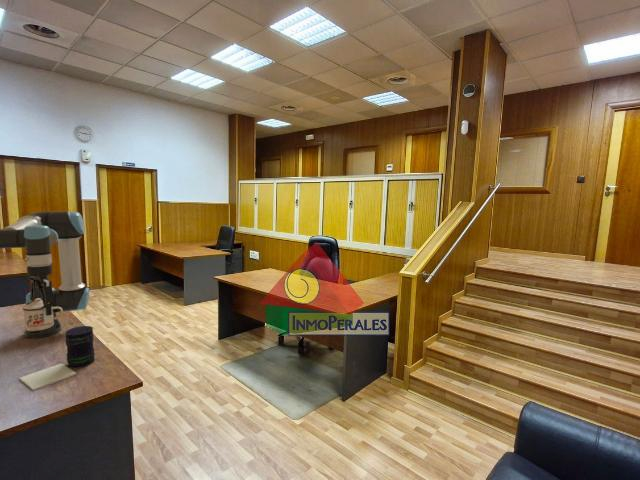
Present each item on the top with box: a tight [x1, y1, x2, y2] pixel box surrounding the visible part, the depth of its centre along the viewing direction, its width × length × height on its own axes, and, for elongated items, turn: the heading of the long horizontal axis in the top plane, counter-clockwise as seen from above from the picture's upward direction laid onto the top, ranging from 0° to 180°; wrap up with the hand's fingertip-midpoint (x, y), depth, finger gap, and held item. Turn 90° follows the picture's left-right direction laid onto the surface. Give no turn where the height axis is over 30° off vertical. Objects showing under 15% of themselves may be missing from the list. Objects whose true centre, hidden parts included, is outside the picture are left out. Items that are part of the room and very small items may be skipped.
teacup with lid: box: [22, 298, 64, 331], centre depth 130 cm, size 12×9×12 cm
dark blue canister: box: [65, 325, 96, 369], centre depth 143 cm, size 10×10×15 cm
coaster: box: [19, 363, 77, 391], centre depth 132 cm, size 14×14×1 cm
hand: (43, 320), depth 130 cm, fingers closed on teacup with lid, 9 cm apart
